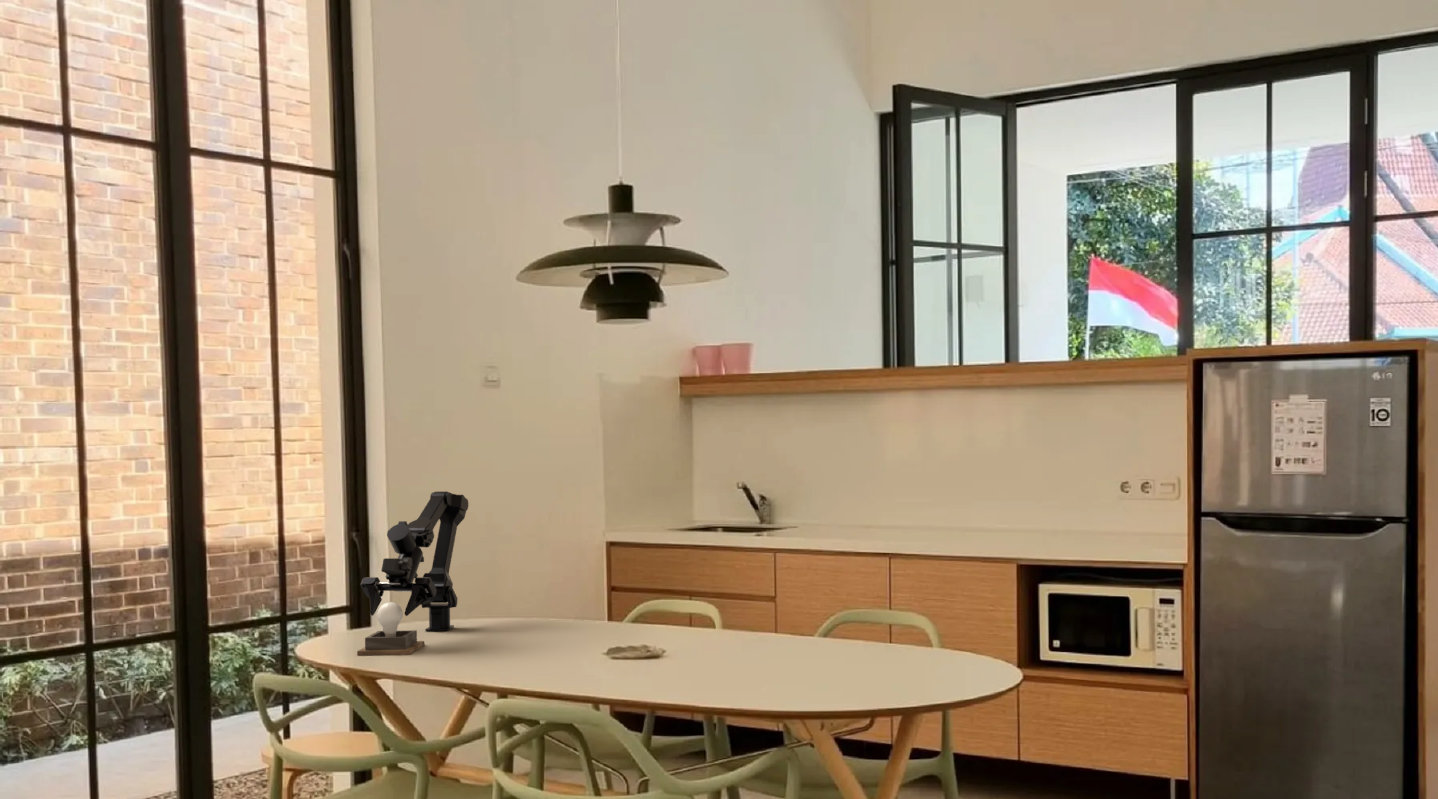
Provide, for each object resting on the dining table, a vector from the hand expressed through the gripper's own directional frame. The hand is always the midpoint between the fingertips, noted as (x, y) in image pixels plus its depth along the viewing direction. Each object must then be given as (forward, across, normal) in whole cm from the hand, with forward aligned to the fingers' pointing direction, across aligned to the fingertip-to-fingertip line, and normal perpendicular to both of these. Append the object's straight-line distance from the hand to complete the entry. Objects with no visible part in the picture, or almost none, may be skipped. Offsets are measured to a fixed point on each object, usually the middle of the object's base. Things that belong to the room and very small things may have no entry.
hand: (388, 614), depth 299 cm
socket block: (+5, 0, +7) cm, 9 cm away
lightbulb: (+5, 0, +7) cm, 8 cm away
